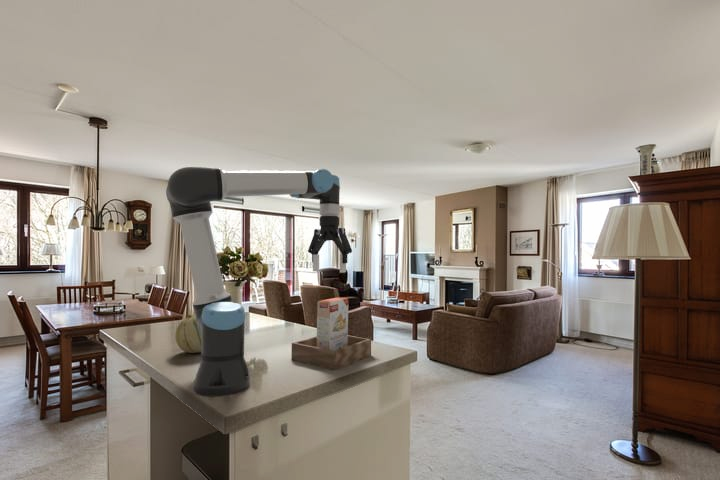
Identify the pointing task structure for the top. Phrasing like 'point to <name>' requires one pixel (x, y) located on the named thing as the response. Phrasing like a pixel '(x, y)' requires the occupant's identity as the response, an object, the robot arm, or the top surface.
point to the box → (331, 352)
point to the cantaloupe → (188, 335)
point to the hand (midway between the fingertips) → (329, 271)
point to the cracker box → (332, 323)
